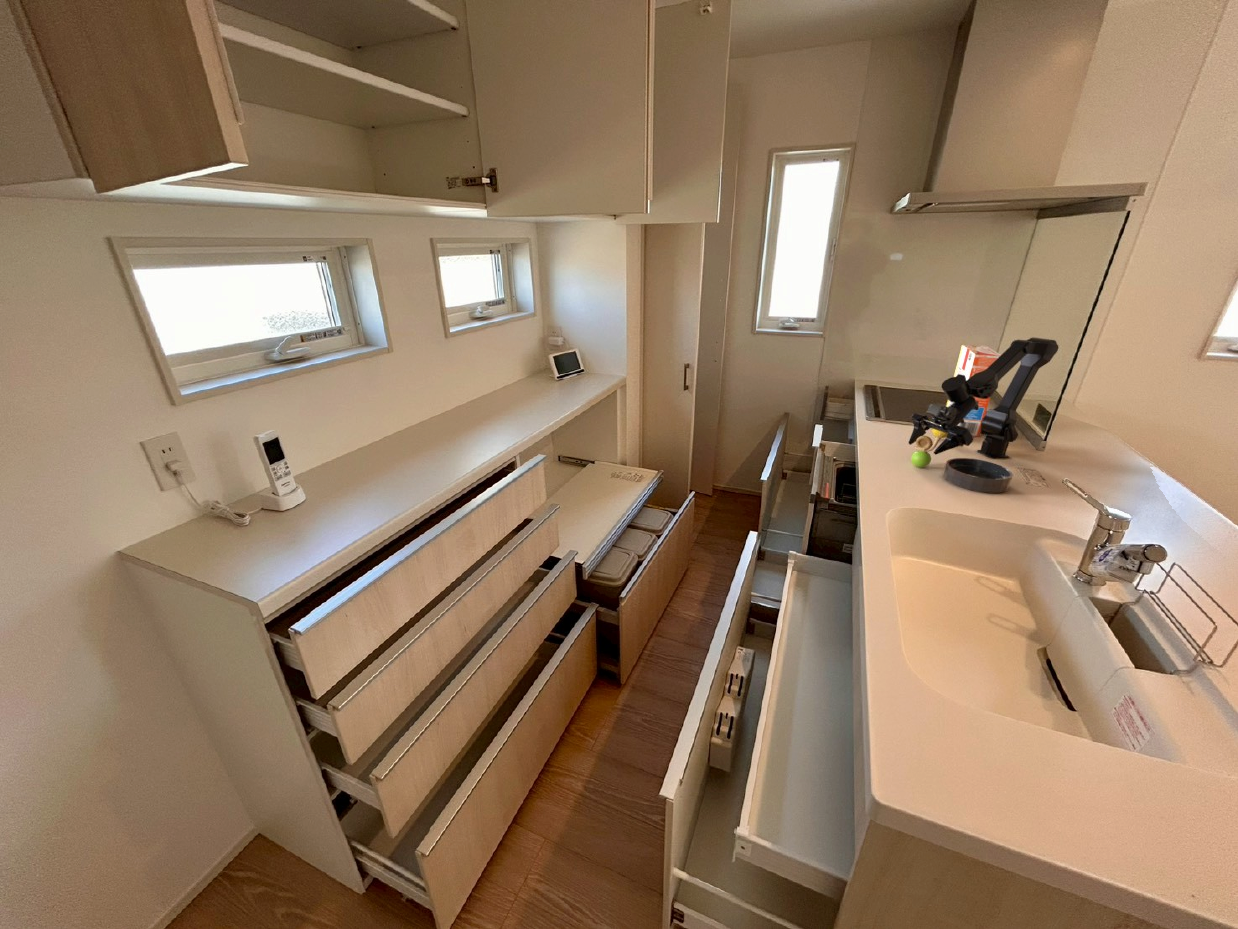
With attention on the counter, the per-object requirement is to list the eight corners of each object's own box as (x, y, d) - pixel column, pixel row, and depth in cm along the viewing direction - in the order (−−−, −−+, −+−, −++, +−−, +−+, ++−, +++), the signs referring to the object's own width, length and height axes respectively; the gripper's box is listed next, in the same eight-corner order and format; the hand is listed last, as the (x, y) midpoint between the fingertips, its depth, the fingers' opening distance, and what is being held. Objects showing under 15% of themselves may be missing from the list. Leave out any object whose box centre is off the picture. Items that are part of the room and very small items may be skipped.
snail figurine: (930, 472, 155) (940, 436, 150) (907, 467, 158) (916, 431, 154) (933, 466, 159) (943, 431, 154) (911, 462, 162) (919, 427, 158)
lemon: (948, 442, 179) (953, 421, 176) (930, 440, 182) (935, 419, 179) (947, 438, 184) (953, 417, 180) (930, 436, 186) (935, 415, 183)
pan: (980, 470, 156) (984, 457, 154) (1022, 493, 141) (1027, 478, 139) (930, 471, 155) (934, 458, 153) (967, 494, 140) (971, 480, 138)
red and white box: (978, 436, 185) (1002, 355, 174) (953, 434, 188) (975, 354, 177) (965, 419, 205) (986, 345, 193) (943, 417, 208) (962, 344, 196)
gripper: (921, 388, 159) (887, 424, 160) (977, 402, 143) (938, 443, 143) (933, 409, 164) (900, 444, 165) (989, 426, 148) (952, 464, 149)
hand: (921, 448), depth 156 cm, fingers open, 9 cm apart
